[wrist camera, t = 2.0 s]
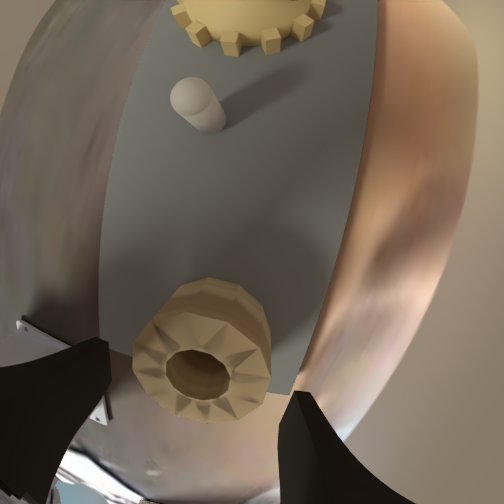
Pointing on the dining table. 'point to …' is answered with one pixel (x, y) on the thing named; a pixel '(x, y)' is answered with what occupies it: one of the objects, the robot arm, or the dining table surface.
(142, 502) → the milk carton
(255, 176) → the gear board
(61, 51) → the dining table surface
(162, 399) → the wooden ring spacer
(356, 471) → the robot arm
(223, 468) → the dining table surface
